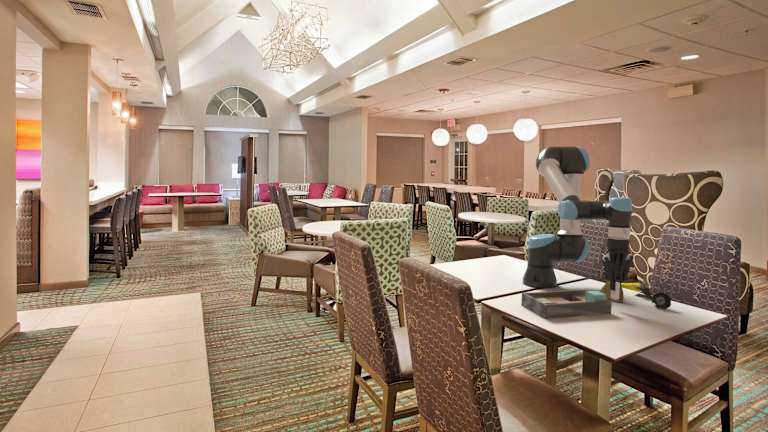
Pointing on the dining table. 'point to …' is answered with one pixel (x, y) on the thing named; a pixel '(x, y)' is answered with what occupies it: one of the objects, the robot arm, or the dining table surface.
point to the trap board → (564, 304)
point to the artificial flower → (654, 296)
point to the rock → (607, 291)
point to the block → (595, 296)
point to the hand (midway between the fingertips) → (614, 298)
